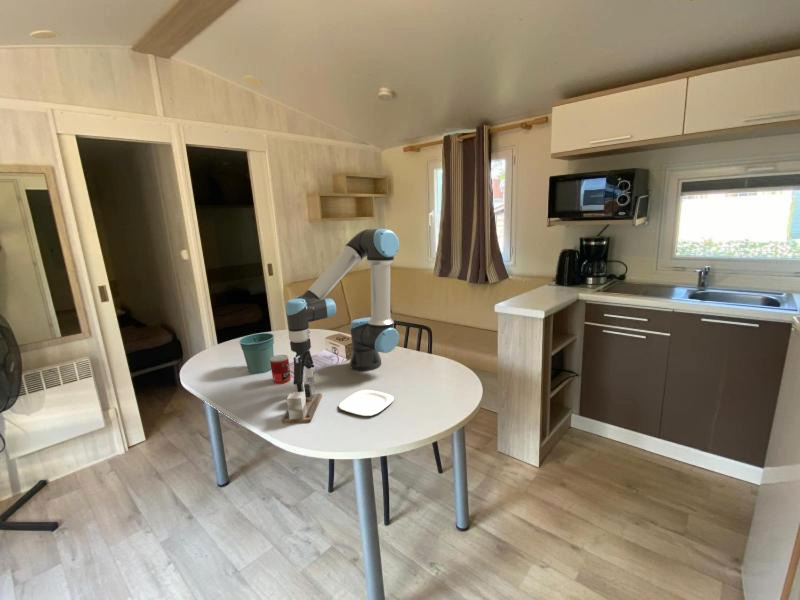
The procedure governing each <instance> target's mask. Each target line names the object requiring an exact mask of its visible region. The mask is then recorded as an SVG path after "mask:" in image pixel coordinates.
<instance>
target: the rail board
mask: <svg viewBox="0 0 800 600" xmlns="http://www.w3.org/2000/svg"><path fill="white" fill-rule="evenodd" d="M322 398H323V393H321V392H319V393H315V397H314V398H313V400H312V401H306V399H305V392H297V391H294V392H290V393H289V394H288V396H287V398H286V403H287V409H288V410H287V412H286V413H285V415H284V417H283V418H282V421H281V422H282V424H283V425H285V424H303V423H307V424H308V423H311V422H312V420H313V417H314V416H315V414H316V412H317V409H318V408H319V407H318V406H319V404H320V402H321V399H322Z"/></svg>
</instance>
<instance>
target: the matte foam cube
mask: <svg viewBox="0 0 800 600" xmlns="http://www.w3.org/2000/svg"><path fill="white" fill-rule="evenodd" d="M303 382H304V389H305V397H306V401H312V400H313V398H314V397H315V394H316V389H315V383H314V376H313V377H306V376H303Z"/></svg>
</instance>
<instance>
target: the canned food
mask: <svg viewBox="0 0 800 600" xmlns="http://www.w3.org/2000/svg"><path fill="white" fill-rule="evenodd" d="M289 360H290V359H289V356H288V354H276V355H274V356H273V357H271V358H270V364H271V370H270V371H271V375H272V376H271V377H272V381H273V383H274V384H278V385H279V384H280V385H282V384H285V383H288V382H290V380H291V379H292V377H291V376H292V375H291V367H290V361H289Z"/></svg>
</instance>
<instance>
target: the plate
mask: <svg viewBox="0 0 800 600" xmlns="http://www.w3.org/2000/svg"><path fill="white" fill-rule="evenodd" d="M394 400H395V397H394V396H393V395H391V394H389V393H385V392H383V391H378V390H373V389H362V390H361V389H360V390H358V391H356V392H354V393H352V394H350V395H349V396H348V397H346V398H344V399H343V400H342V401H341V402H339V404H338V408H339V410H341V411H344V412H346V413H349V414H352V415H356V416H361V417H373V416H376V415H377V414H379V413H381V412H383V410H385V409H386V408H387V407H389V406H390V405H391V404H392V403H393V402H394Z"/></svg>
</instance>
